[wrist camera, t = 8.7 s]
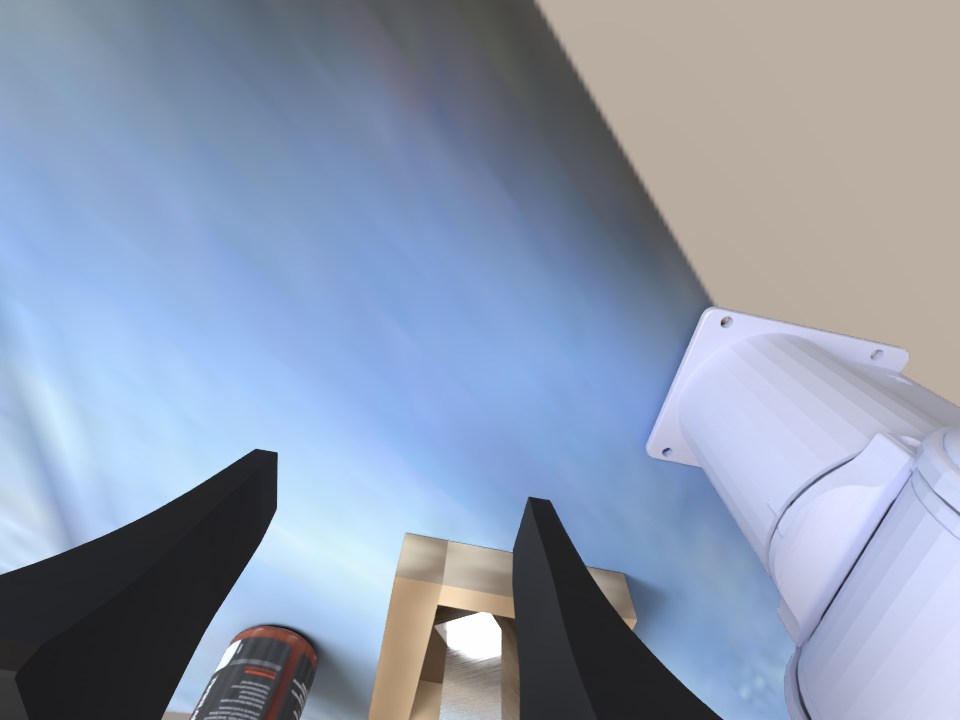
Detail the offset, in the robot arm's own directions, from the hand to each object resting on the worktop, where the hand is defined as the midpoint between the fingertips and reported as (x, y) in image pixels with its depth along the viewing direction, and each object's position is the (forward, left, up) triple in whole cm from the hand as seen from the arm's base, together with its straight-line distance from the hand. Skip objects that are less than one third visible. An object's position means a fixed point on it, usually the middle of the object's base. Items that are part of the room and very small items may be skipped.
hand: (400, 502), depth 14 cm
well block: (-6, +18, -10) cm, 22 cm away
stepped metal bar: (-6, +18, -10) cm, 21 cm away
